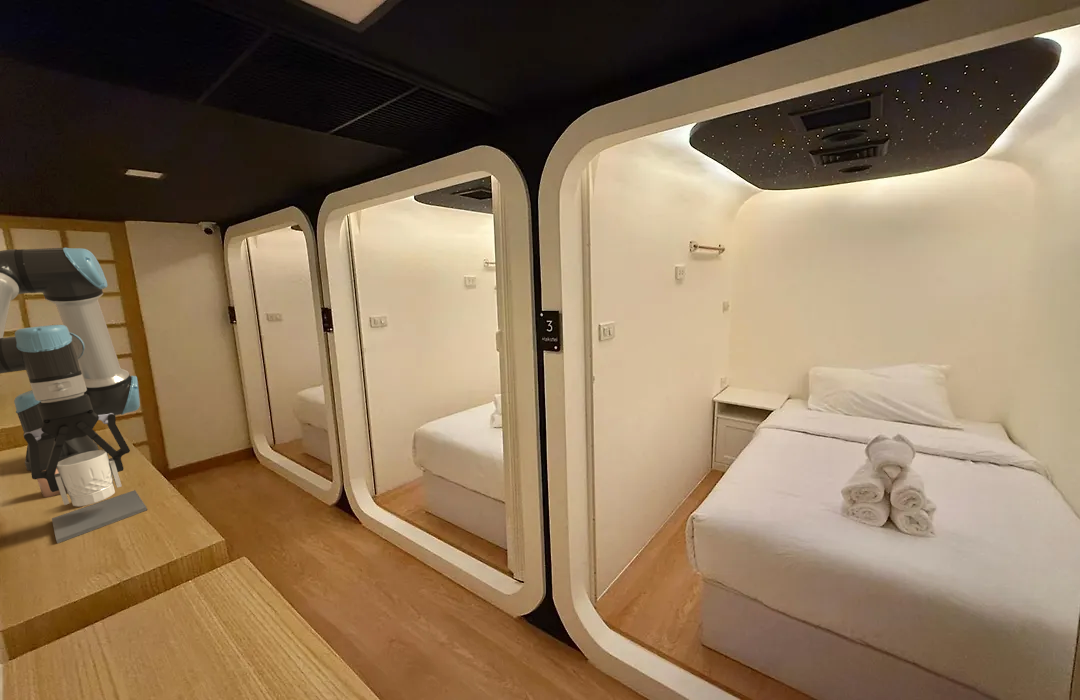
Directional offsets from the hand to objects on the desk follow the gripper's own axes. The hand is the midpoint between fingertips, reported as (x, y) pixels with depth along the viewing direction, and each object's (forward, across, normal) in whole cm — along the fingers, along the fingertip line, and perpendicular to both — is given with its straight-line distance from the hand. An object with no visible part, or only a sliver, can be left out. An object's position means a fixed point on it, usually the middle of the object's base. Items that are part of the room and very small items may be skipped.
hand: (93, 493), depth 95 cm
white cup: (+1, 0, 0) cm, 1 cm away
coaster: (+6, 0, 0) cm, 6 cm away
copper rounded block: (+6, -5, +28) cm, 29 cm away
